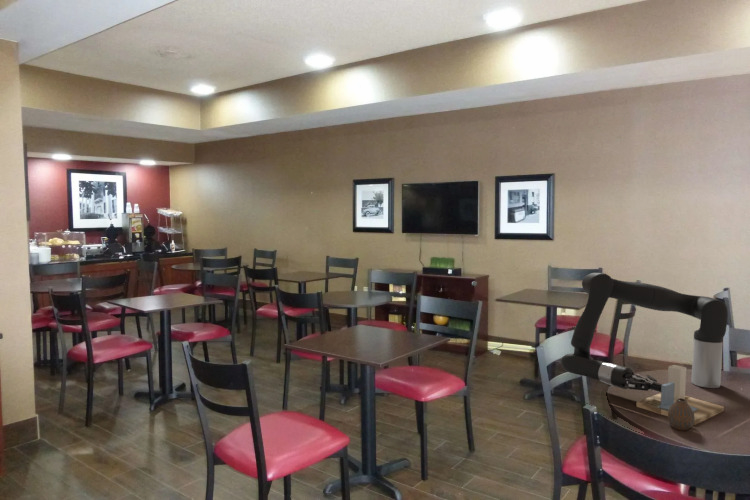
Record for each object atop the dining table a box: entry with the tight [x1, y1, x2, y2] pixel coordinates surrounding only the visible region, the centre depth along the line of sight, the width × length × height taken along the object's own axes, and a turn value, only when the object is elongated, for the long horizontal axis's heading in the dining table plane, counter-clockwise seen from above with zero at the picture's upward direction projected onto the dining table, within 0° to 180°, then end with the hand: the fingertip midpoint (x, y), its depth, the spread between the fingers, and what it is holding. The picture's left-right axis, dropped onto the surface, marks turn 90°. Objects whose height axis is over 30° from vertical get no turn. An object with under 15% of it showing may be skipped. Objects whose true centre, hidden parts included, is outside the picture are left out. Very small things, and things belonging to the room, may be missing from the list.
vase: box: [667, 398, 695, 431], centre depth 154 cm, size 7×7×9 cm
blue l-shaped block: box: [659, 382, 698, 412], centre depth 164 cm, size 8×8×7 cm
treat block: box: [667, 364, 687, 400], centre depth 175 cm, size 4×4×12 cm
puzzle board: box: [636, 392, 725, 426], centre depth 169 cm, size 20×18×2 cm
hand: (666, 389), depth 167 cm, fingers closed
